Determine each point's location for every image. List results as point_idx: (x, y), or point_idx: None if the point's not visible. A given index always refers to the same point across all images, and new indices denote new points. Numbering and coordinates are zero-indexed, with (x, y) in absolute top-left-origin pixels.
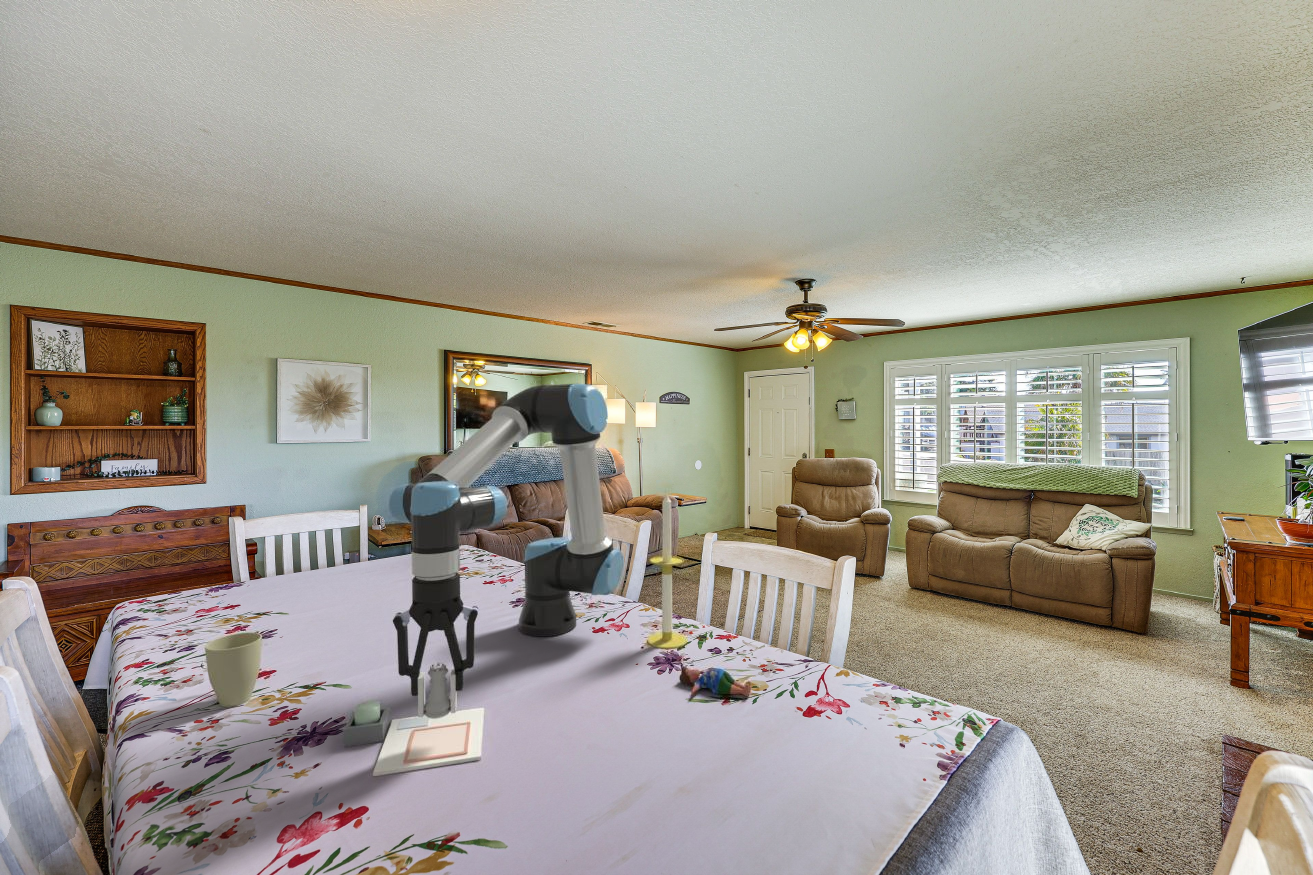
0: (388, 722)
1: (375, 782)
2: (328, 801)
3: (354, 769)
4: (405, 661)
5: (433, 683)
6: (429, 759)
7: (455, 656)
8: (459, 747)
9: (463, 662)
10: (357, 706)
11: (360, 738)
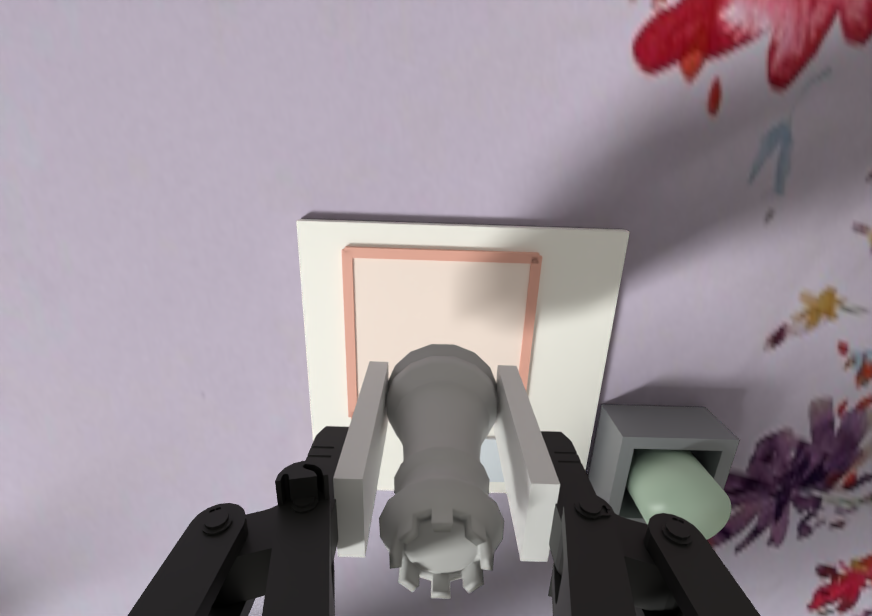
0: (592, 481)
1: (616, 194)
2: (749, 134)
3: (677, 283)
4: (698, 606)
5: (464, 455)
6: (461, 250)
7: (295, 596)
8: (370, 286)
9: (263, 554)
10: (720, 523)
11: (670, 416)
